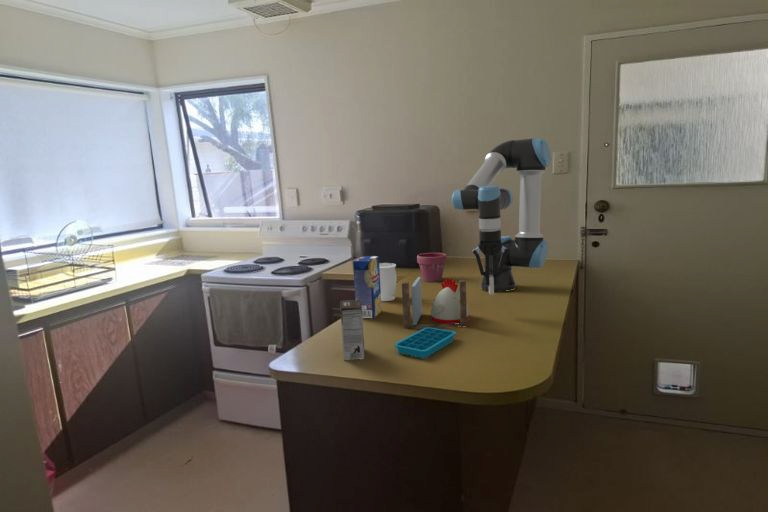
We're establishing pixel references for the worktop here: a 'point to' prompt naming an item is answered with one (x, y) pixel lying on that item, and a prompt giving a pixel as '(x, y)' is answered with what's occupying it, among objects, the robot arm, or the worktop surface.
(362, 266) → the blue cardboard box
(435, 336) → the ice cube tray
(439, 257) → the plant pot
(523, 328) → the worktop surface
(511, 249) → the robot arm
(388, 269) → the jar
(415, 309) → the door
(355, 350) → the coffee box
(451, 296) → the kitchen timer
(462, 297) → the door frame
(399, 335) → the worktop surface
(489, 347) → the worktop surface
